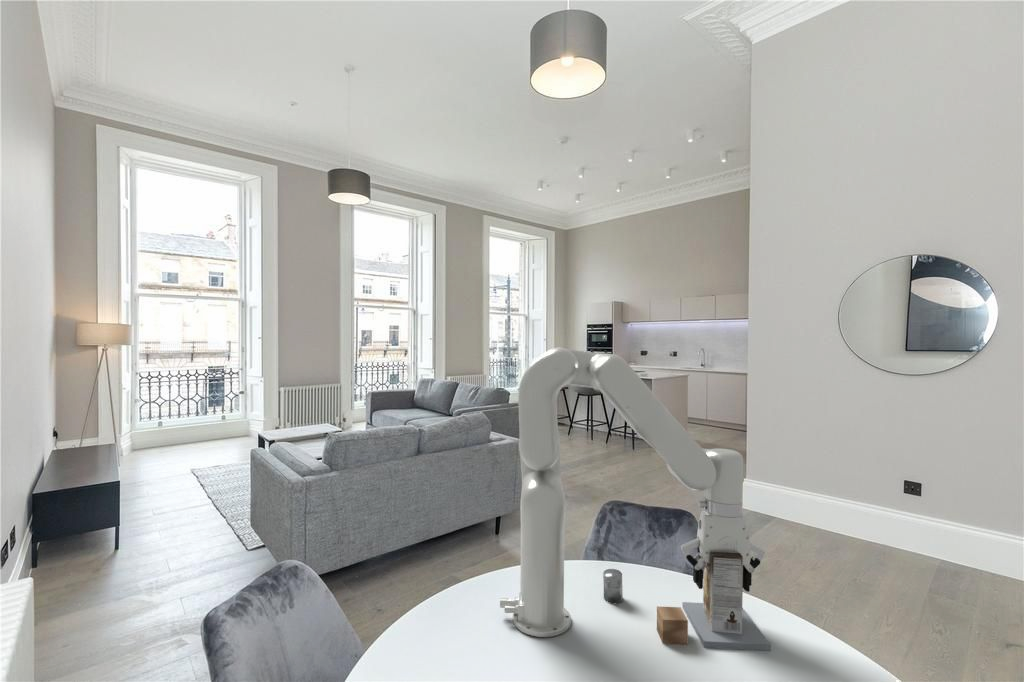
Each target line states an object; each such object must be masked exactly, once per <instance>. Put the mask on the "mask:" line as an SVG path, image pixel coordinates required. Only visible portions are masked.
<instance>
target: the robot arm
mask: <svg viewBox="0 0 1024 682" xmlns="http://www.w3.org/2000/svg"><path fill="white" fill-rule="evenodd" d="M566 385H569V386H576V387H584V388H590V389H591V388H592V389H598V390H599V391H600V393H601V394H603V395H602V396H604V397H605V399H606V400H608V402H609V403H610V404H611V406H612V407H613V408H614V409H615V410H616V411H617V413H618V414H619V415H620V417H622V419H623V420H624V421H625V422H626V423H627V425H628V426H629V427H630V428H631V429H632V430H633V431H634V432H635V434H637V435H638V436H639V437H640V439H642V440H643V441H644V442H646V443H647V444H648V445H650V447H651V448H652V449H653V450H654V451H655V452H656V453H657V454H658V456H660V457H661V459H662V460H663V461H664V463H666V468H667V470H668V471H669V472H670V473H671V475H672V476H673V477H674V478H676V480H678V481H679V482H680V483H681V484H683V485H684V486H685V487H686V488H687V489H689V490H691V491H694V492H695V491H696V492H702V491H704V496H703V498H702V500H698V501H697V507H698V508H702V509H703V510H701V512H700V515H699V520H698V526H697V531H696V538H693V539H692V540H689V541H687V542H685V543H683V544H681V545H680V549H681V551H682V553H683V555H684V557H685V558H686V560H687V561H688V562H689V563H690V564H691V565H692V580H693V583H695V584H696V586H697V588H698V589H699V590H702V589H703V569H702V568H703V565H704V564H705V563H709V564H710V552H729V553H740V554H741V555H742V557H743V591H745V592H750V587H751V586H752V575H753V573H754V572H755V570H756V568H757V567H758V566H759V565H760V564H761V561H762V560H763V558H764V556H766V555H765V554H766V552H765V551H764V549H762V548H761V547H759V546H757V545H755V544H754V543H752V542H751V537H750V530H749V523H748V518H747V516H746V515H745V514H743V490H744V489H743V486H744V485H743V484H744V483H743V482H744V481H743V480H744V458H743V455H742V454H741V453H740V452H739V451H736V450H734V449H729V448H728V449H727V448H720V447H719V448H710V449H709V448H703V447H701V446H700V444H699V443H698V442H697V441H696V440H695V439H694V438H693V436H692V435H691V434H690V433H689V432H688V430H686V428H684V426H682V424H681V423H680V422H679V421H678V420H677V419H676V417H674V416H673V414H672V413H671V412H670V410H668V408H667V407H666V406H665V405H664V404H663V403H662V402H661V401H660V399H659V398H658V397H657V396H656V394H655V393H653V391H652V390H651V389H650V387H648V386H647V384H646V383H645V382H644V381H643V380H642V378H641V377H640V375H638V374H637V373H636V371H635V370H634V368H632V366H631V365H630V364H629V362H627V361H626V360H625V358H623V357H621V356H620V355H618V354H613V353H603V352H602V353H601V352H591V351H589V352H588V351H585V350H584V351H583V350H576V349H568V348H565V347H559V346H558V347H554V348H549V349H547V350H546V351H545V352H544V353H543V354H542V355H539V356H538V357H537V358H536V359H535V360H534V361H532V362H531V363H530V365H529V366H528V367H527V368H526V370H525V372H524V373H523V375H522V377H521V380H520V383H519V387H518V388H519V389H518V395H517V396H518V397H517V398H518V425H519V426H518V427H519V429H518V430H519V432H518V433H519V438H518V439H519V440H518V451H519V456H520V457H519V458H520V472H521V473H520V474H521V490H520V491H521V494H520V509H519V511H520V582H519V583H520V585H519V586H520V590H519V591H520V592H519V594H518V595H519V596H518V597H517V596H515V597H514V598H506V597H501V598H500V601H499V608H501V609H502V608H503V609H504V614H505V613H506V614H512V621H513V624H514V626H515V628H517V630H519V631H520V632H522V633H524V634H526V635H527V636H533V637H538V638H550V637H551V638H552V637H556V636H559V635H562V634H564V633H565V632H566V631H568V629H569V628H570V627H571V625H572V624H571V623H572V621H571V619H572V617H571V614H570V612H569V610H567V609H566V608H565V603H564V602H565V600H564V598H565V590H564V589H565V520H566V495H565V490H564V486H563V481H562V468H561V451H562V450H561V449H562V448H561V447H562V446H561V440H560V435H559V426H558V425H559V424H558V396H559V393H560V391H561V390H562V389H563V388H564V387H565V386H566ZM694 549H696V553H697V554H696V555H694V556H693V555H692V554H691V550H694ZM752 552H753V553H754V554H753V556H752V555H751V553H752Z"/></svg>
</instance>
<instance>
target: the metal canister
mask: <svg viewBox="0 0 1024 682" xmlns="http://www.w3.org/2000/svg"><path fill="white" fill-rule="evenodd" d="M602 575H603V576H602V577H603V599H604V601H606V602H607V601H608V602H607V603H609V602H611V603H610V604H613V603H616V604H619V603H621V602H623V594H624V592H623V590H624V589H623V573H622V572H621V571H620V569H616V568H608V569H605V570H603V573H602Z"/></svg>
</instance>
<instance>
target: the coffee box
mask: <svg viewBox="0 0 1024 682" xmlns="http://www.w3.org/2000/svg"><path fill="white" fill-rule="evenodd" d="M702 568H703V569H702V570H703V588H702V589H703V590H702V591H703V592H702V593H703V597H702V599H703V601H702V603H703V608H704V611H705V614H706V617H707V620H708V623H709V625H710V628H711V631H713V632H722V633H732V634H742V608H743V591H744V588H743V557H742V555H741V554H740V553H729V552H710V564H709V563H705V564H704V565H703V566H702Z"/></svg>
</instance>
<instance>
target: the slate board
mask: <svg viewBox="0 0 1024 682" xmlns="http://www.w3.org/2000/svg"><path fill="white" fill-rule="evenodd" d="M682 610H683V612H684V614H685V616H686V618H687V620H688V621H689V622H690V624H691V627H692V628H693V630H694V631H695V634H696V636H697V637H698V640H699V641H700V643H701V645H702V647H703V648H710V649H733V650H751V651H752V650H753V651H771V649H772V647H771V646H772V645H771V643H770V641H769V640H768V639H767V638H766V636H765V635H764V634H763V633H762V631H761V630H760V629H759V627H758V626H757V624H756V623H755V622H754V621H753V619H752V618H751V617H750V615H749V614H748V613H747V612H746V610H745V609H744V607H742V634H732V633H722V632H713V631H711V628H710V625H709V623H708V620H707V617H706V614H705V611H704V608H703V602H692V601H691V602H687V601H682Z"/></svg>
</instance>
